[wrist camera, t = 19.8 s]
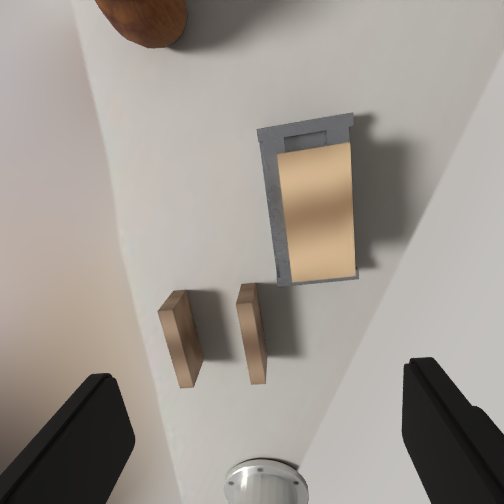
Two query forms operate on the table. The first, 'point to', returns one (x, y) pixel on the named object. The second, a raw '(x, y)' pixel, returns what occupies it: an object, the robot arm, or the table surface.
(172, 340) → the wooden blocks
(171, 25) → the wooden figurine
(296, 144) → the grey shallow tray
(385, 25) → the table surface
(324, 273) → the cardboard-coloured box
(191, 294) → the table surface
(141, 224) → the table surface
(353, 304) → the table surface
